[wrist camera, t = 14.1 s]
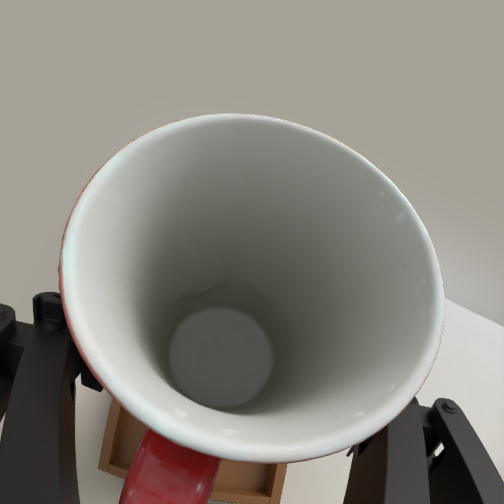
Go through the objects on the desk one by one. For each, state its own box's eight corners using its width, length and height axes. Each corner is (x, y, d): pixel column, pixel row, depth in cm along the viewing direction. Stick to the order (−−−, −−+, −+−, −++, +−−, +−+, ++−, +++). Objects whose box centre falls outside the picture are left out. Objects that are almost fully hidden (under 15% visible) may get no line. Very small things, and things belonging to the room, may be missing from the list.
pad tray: (106, 464, 17) (97, 469, 14) (155, 278, 26) (153, 265, 24) (270, 498, 18) (279, 506, 16) (298, 312, 27) (308, 303, 25)
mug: (186, 269, 20) (197, 82, 9) (307, 325, 20) (442, 194, 8) (96, 433, 13) (-70, 436, 2) (235, 498, 13) (335, 626, 1)
